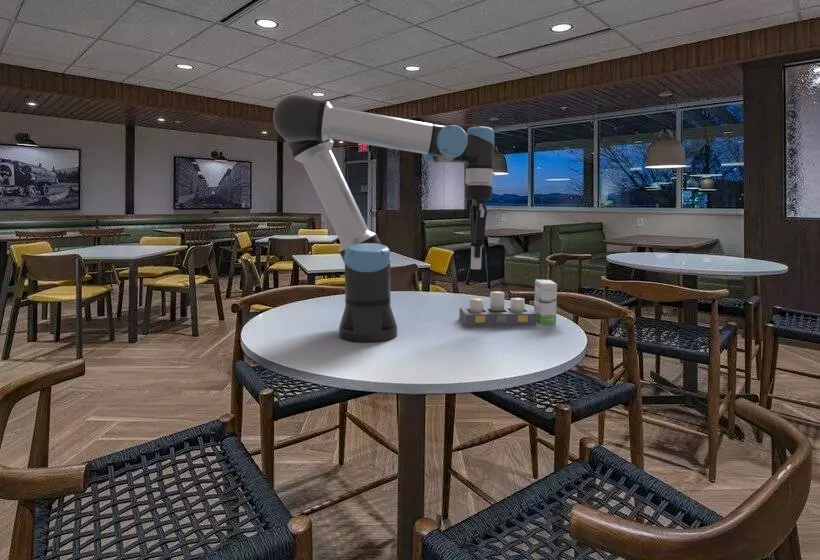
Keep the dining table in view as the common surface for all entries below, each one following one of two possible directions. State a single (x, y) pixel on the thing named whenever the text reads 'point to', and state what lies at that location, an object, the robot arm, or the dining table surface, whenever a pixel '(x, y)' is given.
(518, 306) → the button right
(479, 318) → the console
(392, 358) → the dining table surface
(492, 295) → the button mid
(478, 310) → the button left
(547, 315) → the ink box
